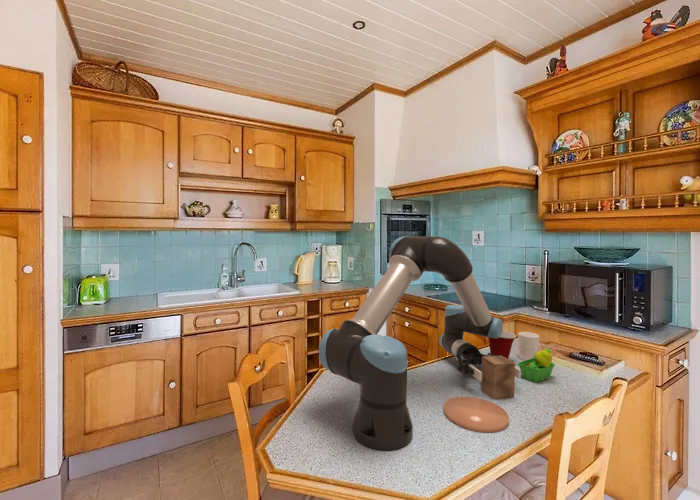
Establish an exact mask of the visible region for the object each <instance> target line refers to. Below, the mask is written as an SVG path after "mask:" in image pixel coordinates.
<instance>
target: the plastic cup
mask: <svg viewBox="0 0 700 500" xmlns="http://www.w3.org/2000/svg"><path fill="white" fill-rule="evenodd" d="M516 337H517V335H516V334H515V333H513V332H510V331H507V330H503V331H502V334H501V336H500V337H499V338H497V339H495V338H488V345H489V353H491V354H493V355H496V356H500V355H501V356H503V357H505V358H507V359H509V358H510V354H511V350H512V346H513V343H514V340H515V339H516ZM509 360H510V359H509Z"/></svg>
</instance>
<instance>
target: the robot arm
mask: <svg viewBox="0 0 700 500" xmlns="http://www.w3.org/2000/svg"><path fill="white" fill-rule="evenodd" d="M388 259H389V261H388V262H389V267H388V269H387V270H386V271H385V273H384V274H383V276H381V278H380V280H379V281H378V282H377V284H376V285H375V287H374V288H373V289H372V290H371V292H370V294H369V295H368V296H367V298H366V299H365V300H364V302H363V304H362V305H361V306H360V307H359V309H358V310H357V311H356V313H355V315H353V317H352V318H350V319H349V318H348V319H345V320H344V321H343V322H342V324H341V325H340V326H339V327H338V328H332V329H329V330H327V331H326V332H325V333H324V334H323V335H322V337H321V338H320V339H321V340H320V342H319V345H318V359H319V362H320V363H321V365H322V366H323V368H324V369H326V370H327V371H329V372H330V373H332V374H334V375H335V376H340V377H342V378H344V379H347V380H349V381H351V382H353V383H355V384H358V385H359V386H360V389H359V393H360V394H359V397H360V398H359V403H358V406H357V407H356V411H355V414H354V417H353V422H352V434H353V436H354V438H355V440H357V442H359V443H360V444H361V445H364V446H365V447H367V448H371V449H374V450H380V451H394V450H397V449H401V448H403V447H405V446H407V445H408V444H409V443H410V442H411V441H412V439H413V436H414V435H413V434H414V425H413V422H412V418H411V415H410V411H409V408H408V404H407V393H408V392H407V389H408V388H407V385H408V367H409V360H408V350H407V347H406V346H405V345H404V343H403V342H401V341H400V340H398V339H396V338H394V337H393V336H388V335H381V334H379V332H380V331H381V329H382V328H383V326H384V325H385V323H386V321H387V320H388V319H389V317H390V316H391V314H392V313H393V311H394V309H395V308H396V306H397V305H398V303H399V302H400V300H401V299H402V297H403V295H404V294H405V293H406V291H407V290H408V288H409V286H410V285H411V284H412V282H415V281H418V280H419V279H420V278H421V276H422V275H423V273H424V272H428V273H429V272H431V273H437V274H440V275H442V276H443V277H444V279H445V281H447V282H449V283H450V285H451V286H452V289H453V290H454V292H455V293H456V296H457V298H458V299H459V300H458V301H460V303H461V305H459V304H448V305H446V306H445V309H444V315H443V317H444V330H443V331H444V332H442V334H441V336H440V338H439V344H440V346H441V348H443V349H444V351H445V352H448V353H449V354H451V355H452V356H454V358H455V362H456V364H457V369H458V370H457V371H458V372H464V373H463V374H464V375H465V376H466V375H471V376H472V377H473V378H475V379H476V380H478V381H479V382H481V381H482V372H481V370H479V369H478V368H476V367H475V366H476V365H478V366H482V356H496V355H493V354H491V353H490V352H487V354H485V353H481V352H480V350H479V348H478V347H477V346H475V345H474V344H472V343H470V342H468V341H467V340H465V339H464V334H465V333H468V334H473V335H475V336H477V335H478V336H482V337H486V338H488V339H489V338H495V339H497V338H499V337H500V336H501V334H502V331H504V330H503V329H504V324H503V323H504V322H503V321H502V320H501V319H500V318H498V317H496V316H495V317H493V316H492V314H491V312H490V310H489V308H488V305H487V303H486V301H485V299H484V297H483V294H482V292H481V290H480V288H479V285H478V284H477V282H476V279H475V278H474V276H473V271H474V270H473V269H474V268H473V265H472V263H471V261H470V259H469V258H468V256H467V254H466V253H465V252H464V251H463V250H462V249H461V248H460V246H458V245H457V244H456V243H454V242H453V241H452V240H450V239H448V238H445V237H442V236H423V235H422V236H421V235H406V236H405V235H403V236H400V237H397V238H396V239H395V240H394V241H393V242H392V243H391V245H390V248H389V253H388ZM508 360H510V361H512V362H514V363H515V361H514V360H511V359H508ZM474 365H475V366H474ZM515 378H517V379H521V378H522V374H521V370H520V367H519V368H518V367H517V366H515Z"/></svg>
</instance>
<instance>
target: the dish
mask: <svg viewBox="0 0 700 500" xmlns="http://www.w3.org/2000/svg"><path fill="white" fill-rule="evenodd" d="M443 414H444V415H445V417H446V418H447V420H449V421H450V422H451V423H453V424H454V425H456V426H459V427H461V428H462V429H465V430H468V431H472V432H478V433H485V434H486V433H487V434H488V433H498V432H501V431H504V430H505V429H507V428H508V427H509V424H510V423H509V422H510V417H509V413H508V412H507V411H506V410H505V409H504V408H503V407H502V406H500V405H499V404H497V403H495V402H492V401H490V400H488V399H484V398H480V397H474V396H455V397H451V398H449V399H447V400H446V401H445V402H444V404H443Z"/></svg>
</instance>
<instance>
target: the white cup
mask: <svg viewBox="0 0 700 500" xmlns="http://www.w3.org/2000/svg"><path fill="white" fill-rule="evenodd" d="M540 337H541V336H540V335H539V334H537V333H533V332H530V331H519V332H517V340H518V341H517V347H518V358H519V359H521V360H523V361H525V360H529V359H532V358H534V355H535V353H537V352H539V348H540Z"/></svg>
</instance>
